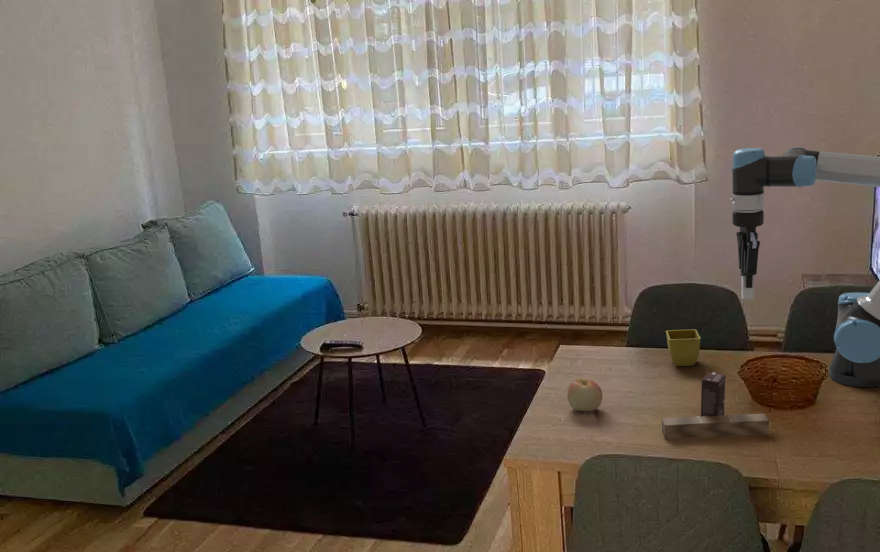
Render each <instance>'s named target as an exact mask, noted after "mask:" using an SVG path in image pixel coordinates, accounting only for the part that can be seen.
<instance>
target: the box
mask: <svg viewBox="0 0 880 552" xmlns="http://www.w3.org/2000/svg"><path fill="white" fill-rule="evenodd" d="M725 394H726V374H724V373H717V372H714V371H712V372H711V371H709V372H707V374H705V375H704V377H703V378H702V379H701V399H700V416H721V415H725V401H726V400H725V399H726V398H725V397H726V395H725Z"/></svg>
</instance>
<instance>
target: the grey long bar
mask: <svg viewBox="0 0 880 552" xmlns="http://www.w3.org/2000/svg"><path fill="white" fill-rule="evenodd" d="M769 426H770V420H769V419H768V417H767V415H766V414H765V413H748V414H747V413H746V414H724V415H721V416H701V415H700V416H699V415H697V416H685V417H684V416H683V417H682V416H681V417H680V416H679V417H663V418H661V432H662V435H663V437H664V439H666V440H668V439H689V438H690V439H691V438H714V437H716V438H717V437H733V436H735V437H736V436H737V437H739V436H754V435H755V436H756V435H757V436H758V435H759V436H761V435H769V434H770V432H769V431H770V429H769V428H770V427H769Z"/></svg>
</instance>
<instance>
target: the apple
mask: <svg viewBox="0 0 880 552" xmlns="http://www.w3.org/2000/svg"><path fill="white" fill-rule="evenodd" d="M567 399H568V403H569V405H570V407H571V408H572V409H573V410H575V411H579V412H593V411H594V412H595V411H596V410H597V409H599V407H600V406H601V404H602V402H603V392H602V389H601V387H600V386H599V384H598V383H596V382H595V381H593V380H592V379H591V380H590V379H587V378H576V379H575V380H573V381H572V382H571V383H569V385H568V390H567Z"/></svg>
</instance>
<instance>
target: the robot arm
mask: <svg viewBox="0 0 880 552" xmlns="http://www.w3.org/2000/svg"><path fill="white" fill-rule="evenodd" d="M732 154H733V156H732V168H731V169H732V170H731V171H732V175H731V176H732V197H731V198H730V202H732V208H733V211H732V215H731V217H732V220H731V221H732V225H733V226H734V227H737V228H739V231H737V232H736V240H737V251H738V252H737V254H738V269H739V270H740V276H741V290H740V291H741V294H740V295H741V296H740V297H741V299H742V300H754V297H755V294H754V292H755V291H754V290H755V289H754V288H755V285H754V283H755V279H754V278H755V275H757V274H758V273H757V272H758V262H759V261H758V260H759V249H760V245H761V242H760V240H758V239H759V234H758V232H757V229H756V228H757V227H761V226H763V225H764V221H765V219H764V218H765V217H764V216H765V213H764V210H763V209H764V208H765V187H768V188H769V187H770V188H771V187H798V188H803V187H812V186H814V185H815V184H816V182H817V181H818V182H828V183H836V184H838V183H839V184H846V185H847V184H848V185H856V186H866V187H875V188H880V156H877V155H876V156H875V155H864V154H853V153H843V152H842V153H841V152H830V151H821V150H820V151H819V150H812V149H811V150H808V149H807V148H803V147H798V146H797V147H792V148H790V149H788V150H787V151H785V152H783V155H781V156H780V155H779V156H778V155H777V156H776V155H775V156H768V155H766V154H765V150H764V148H760V147H747V148H740V149H736V150H735V151H734V152H733V153H732ZM837 306H838V307H837V308H838V309H837V319H836V320H837V321H836V326H835V331H834V333H833V341H834V345H835V348H836V350H835V351H834V354H833V357H832V359H831V362H830V364H829V366H828V367H829V368H828V376H829V378H830V379H831V380H833V381H834V382H837V383H839V384H842V385H846V386H851V387H860V388H876V387H880V279H879V280H878V282H876V285H875V286H874V287H873V288H872V289H871V291H870V292H844V293H842V294H840V295H839V296H838V302H837Z"/></svg>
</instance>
